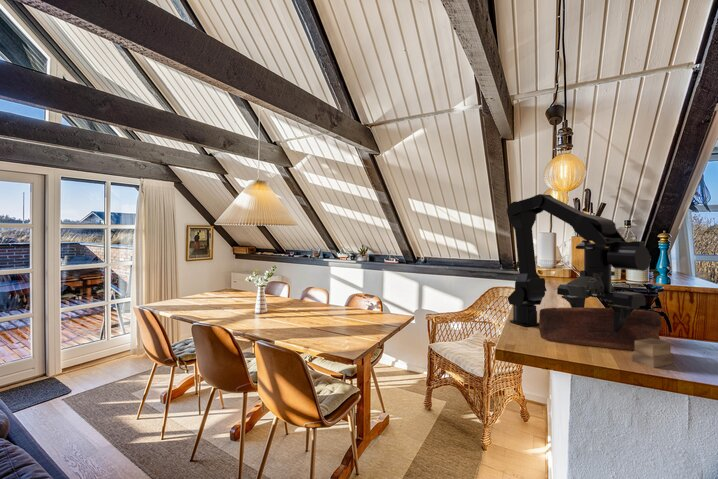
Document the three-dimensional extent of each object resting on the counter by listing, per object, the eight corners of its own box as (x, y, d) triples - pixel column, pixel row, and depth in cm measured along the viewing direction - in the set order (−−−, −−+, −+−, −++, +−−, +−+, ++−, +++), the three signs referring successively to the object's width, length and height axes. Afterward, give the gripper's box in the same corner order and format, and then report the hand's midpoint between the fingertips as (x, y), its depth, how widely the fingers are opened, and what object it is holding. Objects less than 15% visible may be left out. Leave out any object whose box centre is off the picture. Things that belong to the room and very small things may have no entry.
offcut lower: (632, 362, 74) (632, 351, 74) (651, 358, 76) (651, 347, 76) (653, 369, 70) (653, 357, 70) (673, 364, 73) (673, 353, 73)
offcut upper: (634, 351, 74) (634, 340, 74) (652, 348, 76) (652, 338, 76) (652, 356, 71) (652, 345, 71) (670, 353, 73) (670, 342, 73)
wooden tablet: (539, 341, 88) (539, 304, 89) (538, 339, 90) (538, 302, 91) (665, 354, 79) (664, 312, 79) (660, 351, 81) (659, 310, 81)
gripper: (542, 265, 91) (542, 321, 91) (615, 271, 73) (615, 341, 73) (571, 264, 94) (571, 318, 94) (647, 270, 77) (647, 336, 77)
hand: (597, 327), depth 85 cm, fingers open, 9 cm apart
